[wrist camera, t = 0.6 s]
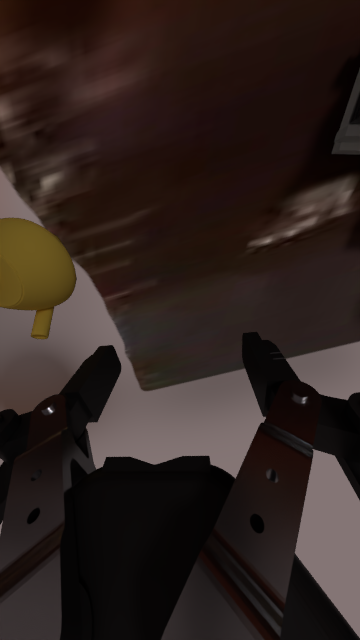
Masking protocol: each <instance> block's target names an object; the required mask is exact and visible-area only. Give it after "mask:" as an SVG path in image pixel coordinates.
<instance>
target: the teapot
mask: <svg viewBox="0 0 360 640" xmlns="http://www.w3.org/2000/svg"><path fill="white" fill-rule="evenodd" d="M76 280H77V278H76V273H75V268H74V265H73V262H72V259H71V257H70V255H69V253H68V252H67V250H66V249H65V247H64V246H63V245H62V243H61V241H60V239H59V238H58V237H57V236H56V235H54V234H52V233H51V232H49V231H48V230H46V229H45V228H43V227H42V226H40V225H38V224H36V223H34V222H31V221H28V220H25V219H20V218H3V219H0V307H3V308H8V309H17V310H37V311H36V315H35V320H34V324H33V329H32V333H31V337H33V338H36V339H47V338H48V336H49V330H50V325H51V320H52V315H53V309H54V306H57V305H59V304H61V303H63V302H64V301H66V300H67V299H68V298H69V297H70V296H71V294H72V293H73V291H74V288H75V284H76Z"/></svg>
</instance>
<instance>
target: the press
mask: <svg viewBox="0 0 360 640" xmlns="http://www.w3.org/2000/svg"><path fill="white" fill-rule="evenodd" d="M359 94H360V69H359V72H358V75H357V78H356V81H355V84H354V87H353V90H352V93H351V96H350V99H349V102H348V105H347V108H346V111H345V114H344V117H343V120H342V123H341V126H340V129H339V131H338V132H337V134H336V137H335V140H334V142H335V144H334V147H333V150H332V153H331V154H358V155H360V124H349V123H350V120H351V117H352V114H353V112H354V109H355V106H356V103H357V100H358V97H359Z"/></svg>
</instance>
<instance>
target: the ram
mask: <svg viewBox="0 0 360 640" xmlns="http://www.w3.org/2000/svg"><path fill="white" fill-rule="evenodd" d="M349 124H360V94H359V97H358V100H357V103H356V106H355V109H354V112H353V114H352V117H351V120H350V123H349Z"/></svg>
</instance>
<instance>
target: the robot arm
mask: <svg viewBox="0 0 360 640" xmlns="http://www.w3.org/2000/svg"><path fill="white" fill-rule="evenodd" d="M242 358H243V363H244V366H245V369H246V372H247V374H248V377H249V380H250V383H251V385H252V388H253V390H254V393H255V396H256V399H257V401H258V404H259V407H260V410H261V412H262V415H263V417H266V419H265V421H264V423H261V424H260V426H259V427H258V430H257V432H256V434H255V436H254V439H253V441H252V443H251V445H250V448H249V450H248V452H247V455H246V457H245V459H244V461H243V463H242V466H241V468H240V470H239V473H238V475H237V477H236V479H235V478H234V477H233V476H232V475H231V474H229V473H228V472H226V471H224V470H223V469H221V468H218V467H216V466H213V465H211V464H210V458H209V456H182V457H179V458H175V459H173V460H169V461H167V462H163V463H160V464H156V465H153V464H150V463H147V462H144V461H141V460H138V459H135V458H132V457H106V460H105V462H104V465H103V467H101V468H99V469H97V470H96V468H95V465H94V462H93V457H92V452H91V447H90V441H89V436H88V431H87V429H86V425H87V423H88V422H98V419H99V417H100V415H101V413H102V411H103V409H104V407H105V405H106V402H107V400H108V398H109V396H110V394H111V392H112V390H113V388H114V386H115V383H116V381H117V379H118V377H119V375H120V372H121V363H120V361H119V358H118V356H117V353H116V351H115V349H114V347H113V346H112V345H109V346H100V347H98V349H97V350H96V351H95V352H94V354H93V355H91V356H90V357H89V358H88V359H86V360H85V361H84V362H83V363H82V365H81V366H80V368H79V369H78V370H77V371H76V373H75V374H74V375H73V376H72V378H71V379H70V380H69V382H68V383H67V384H66V386H65V387H64V388H63V389H62V391H61V392H60V393H59V394H56V395H52V396H50V397H48V398H46V399H45V400H43V401H42V402H40V403H39V404H38V405H37V406H36V407H35V409H34V410H33V411H31V412H28V413H25V414H22V415H18V414H17V413H16V412H15V411H14V410H12V409H7V410H3V411H1V412H0V458H1V459H2V460H3V461H4V462H3V463H2V465H1V466H0V524H1V523H2V521H3V524H2V529H1V534H0V640H360V638H359V637H358V636H357V634H356V633H355V632H354V630H353V629H352V628H351V626H350V625H349V624H348V622H347V621H346V620H345V619H344V617H343V616H342V615H341V613H340V612H339V611H338V609H337V608H336V607H335V606H334V604H333V603H332V602H331V600H330V599H329V598H328V597H327V595H326V594H325V592H324V591H323V590H322V588H321V587H320V586H319V584H318V583H317V582H316V581H315V579H314V578H313V577H312V575H311V574H310V573H309V571H308V570H307V569H306V568H305V566H304V565H303V564H302V562H301V561H300V560H299V558H298V557H297V556H296V554H295V549H296V543H297V538H298V532H299V528H300V522H301V517H302V512H303V506H304V501H305V496H306V491H307V485H308V480H309V474H310V470H311V464H312V458H313V450H312V449H315V450H318V451H321V452H325V453H328V454H332V455H335V457H336V458H337V460H338V462H339V464H340V466H341V467H342V469H343V471H344V473H345V475H346V476H347V478H348V480H349V481H350V484H351V485H352V487H353V489H354V491H355V493H356V494H357V496H358V498H359V500H360V392H359V393H354V394H352V395H351V396H350V397H349V399H348V400H344V399H338V398H333V397H328V396H324V395H321V394H319V393H318V392H317V391H316V390H315V389H314V388H313V387H311V386H310V385H308V384H306V383H304V382H301V381H300V380H299V378H298V377H297V375H296V374H295V372H294V371H293V370H292V368H291V367H290V365H289V364H288V362H287V361H286V359H284V356H283V355H282V353H280V351H279V349H278V348H277V346H276V345H275V344H273V343H272V342H271V341H269V340H262V339H261V337H260V336H259V334H258V333H257V332H250V333H243V336H242Z"/></svg>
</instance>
